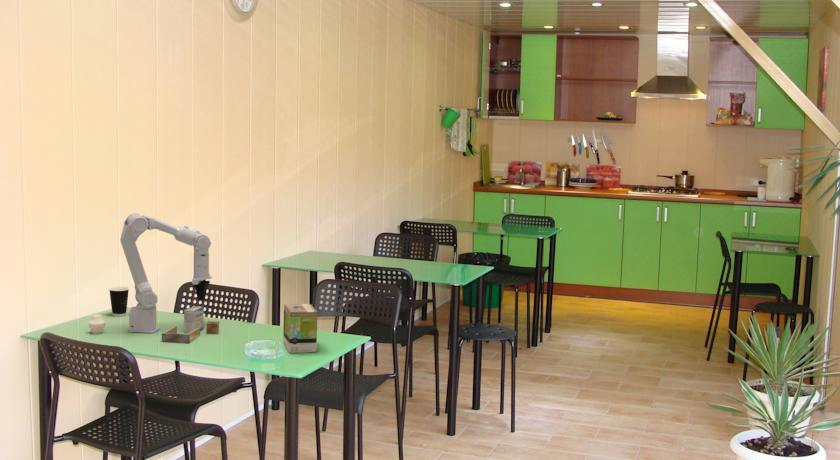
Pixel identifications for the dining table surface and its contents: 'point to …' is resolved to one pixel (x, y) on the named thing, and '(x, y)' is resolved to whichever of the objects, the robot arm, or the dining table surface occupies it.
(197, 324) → the medicine box
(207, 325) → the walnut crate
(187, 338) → the dock bay
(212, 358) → the dining table surface
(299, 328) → the tea box
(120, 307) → the dixie cup
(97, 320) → the cream lidded jar
